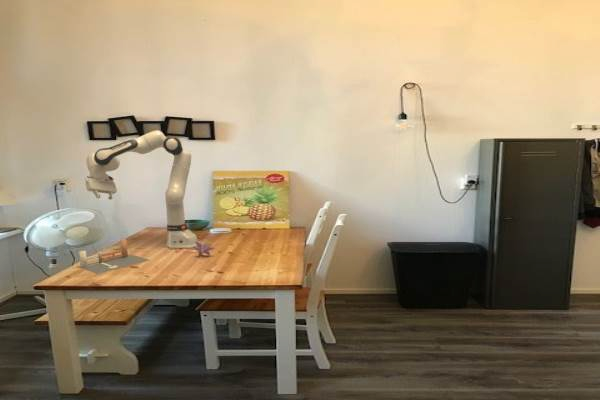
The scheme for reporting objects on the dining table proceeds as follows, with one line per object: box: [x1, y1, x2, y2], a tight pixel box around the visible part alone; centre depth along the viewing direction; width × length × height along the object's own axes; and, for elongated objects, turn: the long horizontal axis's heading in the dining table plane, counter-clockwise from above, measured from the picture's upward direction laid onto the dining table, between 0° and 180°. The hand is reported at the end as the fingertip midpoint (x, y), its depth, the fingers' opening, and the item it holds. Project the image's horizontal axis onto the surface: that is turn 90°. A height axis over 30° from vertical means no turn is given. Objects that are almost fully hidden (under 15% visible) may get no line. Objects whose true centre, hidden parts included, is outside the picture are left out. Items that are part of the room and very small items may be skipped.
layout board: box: [78, 253, 150, 275], centre depth 212 cm, size 22×30×1 cm
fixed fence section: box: [78, 250, 103, 269], centre depth 209 cm, size 3×12×8 cm, turn 143°
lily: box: [192, 240, 216, 259], centre depth 223 cm, size 12×12×10 cm
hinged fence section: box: [101, 238, 129, 261], centre depth 220 cm, size 3×14×10 cm, turn 143°
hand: (104, 198), depth 231 cm, fingers open, 8 cm apart
